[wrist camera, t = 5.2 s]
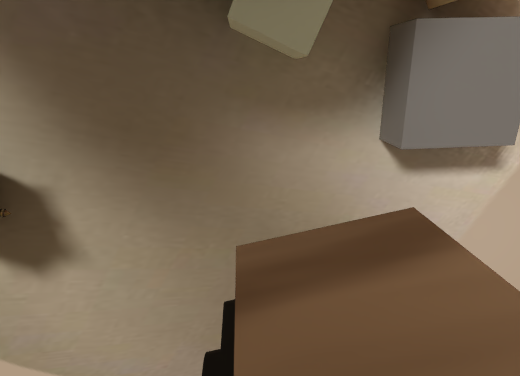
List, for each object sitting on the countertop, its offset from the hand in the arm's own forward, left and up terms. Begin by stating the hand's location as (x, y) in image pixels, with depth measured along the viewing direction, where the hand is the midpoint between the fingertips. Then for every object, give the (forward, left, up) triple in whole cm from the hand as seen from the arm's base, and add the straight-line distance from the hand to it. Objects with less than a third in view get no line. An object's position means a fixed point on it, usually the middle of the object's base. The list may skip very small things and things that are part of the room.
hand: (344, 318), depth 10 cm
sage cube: (-11, +2, -17) cm, 21 cm away
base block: (-4, +13, -17) cm, 22 cm away
